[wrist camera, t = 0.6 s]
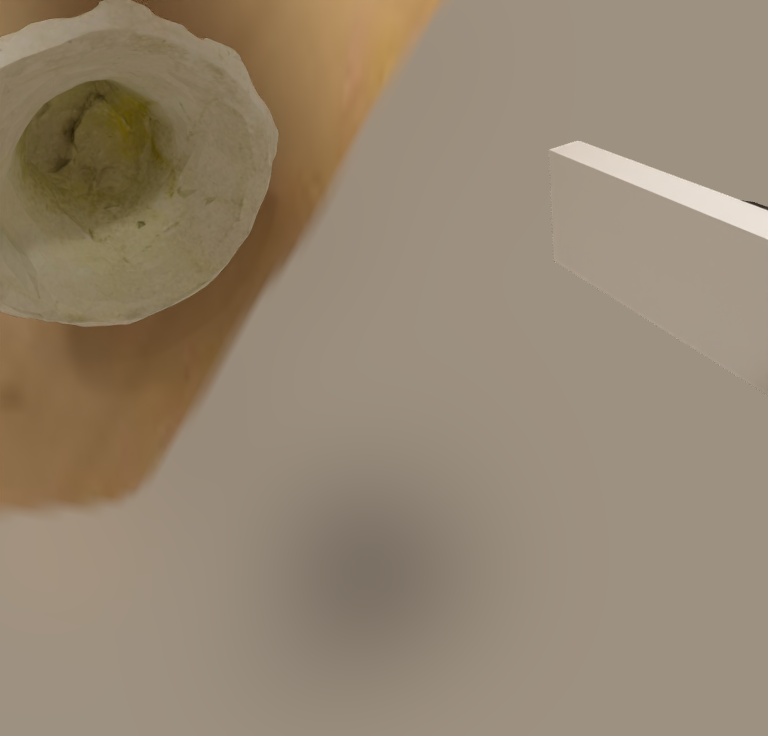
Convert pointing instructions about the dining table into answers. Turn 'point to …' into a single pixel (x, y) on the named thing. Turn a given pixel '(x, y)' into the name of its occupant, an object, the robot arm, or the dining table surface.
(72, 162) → the bowl
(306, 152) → the dining table surface
